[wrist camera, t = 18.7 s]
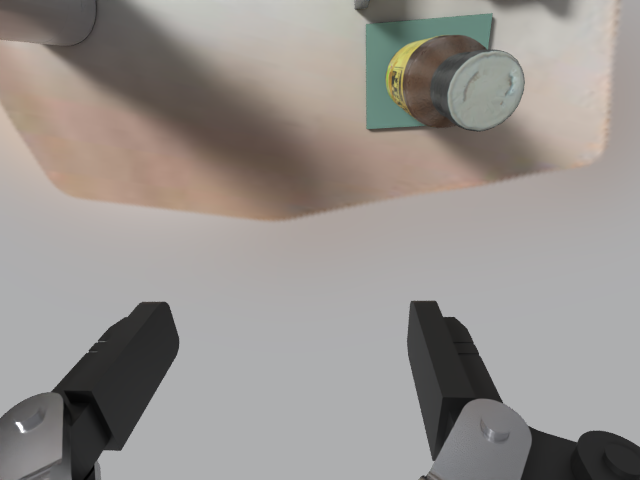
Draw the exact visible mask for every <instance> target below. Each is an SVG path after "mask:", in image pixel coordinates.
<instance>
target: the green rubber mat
mask: <svg viewBox="0 0 640 480" xmlns="http://www.w3.org/2000/svg"><path fill="white" fill-rule="evenodd" d="M492 14H493V13H491V14H479V15H467V16H456V17H444V18H432V19H421V20H409V21H397V22H386V23H374V24H366V114H367V129H376V128H393V127H411V126H427V125H424V124H422V123H420V122H419V121H417V120H416V119H415V118H413V117H412V116H411V115H409V114H408V113H407V112H405V111H404V110H403V109H402V108H400V107H399V106H398V105H397V104H396V103H394V102H393V100H392V99H391V98H390V96H389V94H388V91H387V87H386V79H385V77H386V72H387V68H388V65H389V62H390V60H391V59H392V57H393V56H394V55H395V54H396V53H397V52H398V51H399V50H400V49H402V48H403V47H404V46H406V45H407V44H410V43H412V42H415V41H419V40H424V39H428V38H433V37H437V36H442V35H465V36H468V37H471V38H472V39H475V40H476V41H478V42H479V43H481V44H482V45H483V46H484V47H486V49H487V50H488V44H489V37H490V29H491V22H492Z"/></svg>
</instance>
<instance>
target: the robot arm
mask: <svg viewBox="0 0 640 480" xmlns="http://www.w3.org/2000/svg"><path fill="white" fill-rule="evenodd" d="M95 16H96V1H95V0H0V40H8V41H19V42H30V43H38V44H50V45H61V46H68V45H74V44H77V43H80V42H81V41H82V40H84V39H85V38H86V37H87V36H88V35H89V33H90V32H91V30H92V28H93V25H94V22H95ZM409 313H410V314H409V325H408V338H407V346H408V356H409V361H410V365H411V369H412V374H413V378H414V382H415V386H416V391H417V395H418V400H419V403H420V408H421V413H422V417H423V421H424V425H425V430H426V434H427V438H428V443H429V447H430V451H431V456H432V460H433V461H435V462H434V464H433V466H432V468H431V470H430V471H429V473H428V474H427V476H426V477H425V476H421V477H420V479H419V480H640V447H639V446H637V445H636V444H634V443H632V442H631V441H629V440H627V439H625V438H623V437H621V436H618V435H615V434H613V433H609V432H605V431H589V432H586V433H584V434H583V435H582V436H581V437H580V438H579V440H578V442H573V441H570V440H567V439H564V438H560V437H557V436H554V435H550V434H547V433H544V432H541V431H538V430H536V429H534V428H531V427H530V426H528V425H527V424H526V422H525V421H524V419H523V418H522V417H521V416H520V415H519V414H518V413H517V412H515V411H514V410H513V409H511V408H510V407H508V406H507V405H505V404H503V402H502V400H501V398H500V396H499V394H498V392H497V390H496V387H495V386H494V384H493V381H492V379H491V377H490V375H489V373H488V371H487V369H486V367H485V365H484V363H483V361H482V359H481V357H480V356H479V353H478V350H477V348H476V346H475V345H474V344H473V340H472V338H471V336H470V334H469V332H468V330H467V328H466V327H465V326H464V325H463V324H461V323H460V322H459V321H458V320H457V319H456V318H455V317H443V316H442V314H441V311H440V309H439V306H438V304H437V302H436V301H411V303H410V312H409ZM178 349H179V336H178V333H177V330H176V327H175V323H174V320H173V317H172V313H171V310H170V307H169V305H168V304H167V303H166V302H142V303H140V304H139V305H138V306H137V307H136V308H135V309H134V310H133V312H131V314H130V315H129V316H128V317H125V318H123V319H122V320H120V321H119V322H117V323H116V324H114V325H113V326H111V327H110V328H109V329H108V330H107V331H106V332H105V333H104V334H103V335H102V337H101V338H100V339H99V340H98V343H95V344H94V346H92V347H91V349H90V350H89V353H86V354H85V355H84V357H82V358H81V360H80V361H79V362H78V363H77V364H76V365H75V366H74V367H73V368H72V370H71V371H70V372H69V373H68V374H67V375H66V376H65V377H64V378H63V379H62V381H61V382H60V383H59V384H58V385H57V386H56V387H55V388H54V389H53V390H52V391H51V392H47V393H41V394H38V395H35V396H32V397H30V398H28V399H25V400H24V401H22V402H20V403H18V404H17V405H15V406H14V407H13V408H11V409H10V410H9V411H8V412H7V413H5V414H4V415H3V416H2V417H1V418H0V480H101V472H100V465H99V463H98V461H97V459H98V458H99V456H100V454H101V453H102V451H103V450H116V451H121V450H122V448H123V446H124V444H125V443H126V441H127V439H128V438H129V436H130V434H131V433H132V431H133V429H134V427H135V426H136V424H137V422H138V421H139V419H140V417H141V415H142V414H143V412H144V410H145V409H146V407H147V405H148V403H149V402H150V400H151V398H152V397H153V395H154V393H155V391H156V390H157V388H158V386H159V385H160V383H161V381H162V379H163V378H164V376H165V374H166V373H167V371H168V369H169V367H170V366H171V364H172V362H173V361H174V359H175V357H176V355H177V352H178Z"/></svg>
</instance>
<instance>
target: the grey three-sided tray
mask: <svg viewBox="0 0 640 480" xmlns="http://www.w3.org/2000/svg"><path fill="white" fill-rule="evenodd" d="M368 3H369V0H355V9H363V8H367V6H368Z"/></svg>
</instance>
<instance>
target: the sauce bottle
mask: <svg viewBox="0 0 640 480" xmlns="http://www.w3.org/2000/svg"><path fill="white" fill-rule="evenodd" d="M385 79H386V87H387V91H388V94H389V96H390V98H391V99H392V100H393V102H394V103H396V104H397V105H398V106H399V107H400V108H402V109H403V110H404V111H405V112H407V113H408V114H409V115H411V116H412V117H413V118H415V119H416V120H417V121H419V122H420V123H422V124H424V125H427V126H431V127H437V128H444V127H451V126H455V125H457V126H459V127H461V128H463V129H466V130H471V131H485V130H488V129H491V128H493V127H495V126H497V125H499V124H501V123H503V122H504V121H505V120H506V119H507V118H508V117H509V116H511V114H512V113H513V112H514V111H515V109H516V108H517V106H518V104H519V102H520V100H521V97H522V94H523V91H524V84H525V81H524V74H523V70H522V68H521V66H520V64H519V63H518V60H516V59H515V58H514V57H513V56H512V55H510V54H509V53H506V52H504V51H499V50H487V49H486V47H484V46H483V45H482V44H481V43H479V42H478V41H476V40H475V39H472V38H471V37H468V36H465V35H442V36H437V37H433V38H428V39H424V40H419V41H415V42H412V43H410V44H407V45H406V46H404V47H403V48H402V49H400V50H399V51H398V52H397V53H396V54H395V55H394V56H393V57H392V59H391V60H390V62H389V65H388V68H387V72H386V77H385Z"/></svg>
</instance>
